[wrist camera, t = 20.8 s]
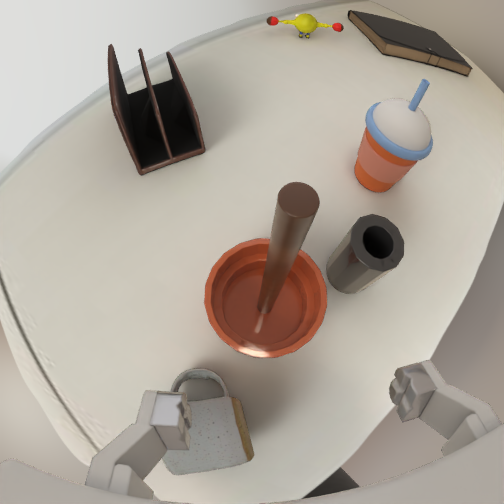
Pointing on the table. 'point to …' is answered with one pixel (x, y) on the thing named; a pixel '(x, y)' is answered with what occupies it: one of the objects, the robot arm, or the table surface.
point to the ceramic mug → (211, 432)
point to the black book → (409, 42)
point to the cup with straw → (393, 141)
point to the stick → (286, 238)
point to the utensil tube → (365, 254)
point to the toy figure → (305, 23)
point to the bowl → (247, 295)
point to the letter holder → (155, 118)
